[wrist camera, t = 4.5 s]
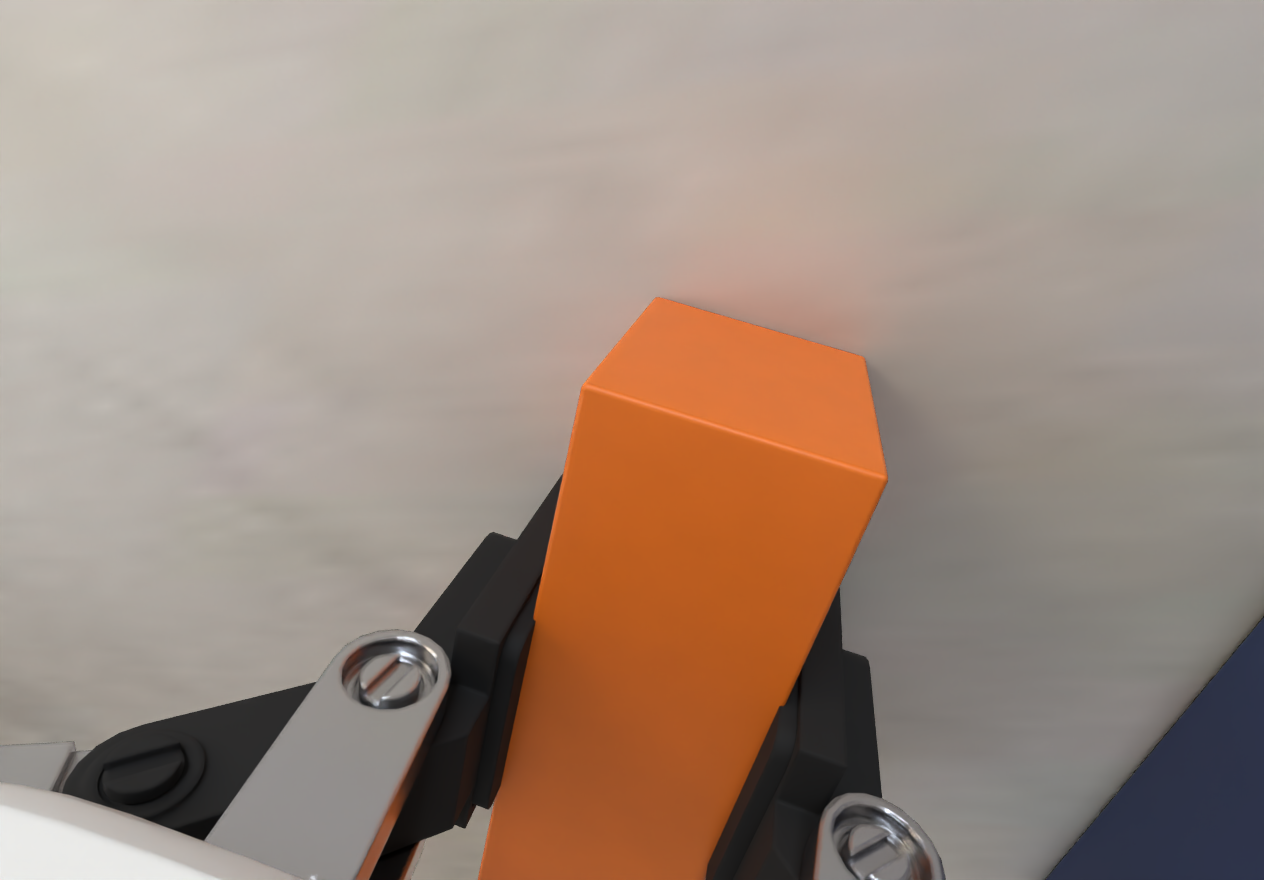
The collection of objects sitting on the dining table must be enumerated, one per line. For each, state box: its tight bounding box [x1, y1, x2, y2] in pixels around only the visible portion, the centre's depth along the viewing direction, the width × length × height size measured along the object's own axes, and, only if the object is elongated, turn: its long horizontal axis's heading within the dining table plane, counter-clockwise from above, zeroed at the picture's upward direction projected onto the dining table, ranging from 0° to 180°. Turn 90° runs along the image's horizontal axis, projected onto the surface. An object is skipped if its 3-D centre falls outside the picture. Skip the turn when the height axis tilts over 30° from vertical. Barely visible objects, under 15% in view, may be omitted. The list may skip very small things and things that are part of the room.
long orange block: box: [478, 297, 888, 880], centre depth 10 cm, size 3×9×4 cm, turn 167°
